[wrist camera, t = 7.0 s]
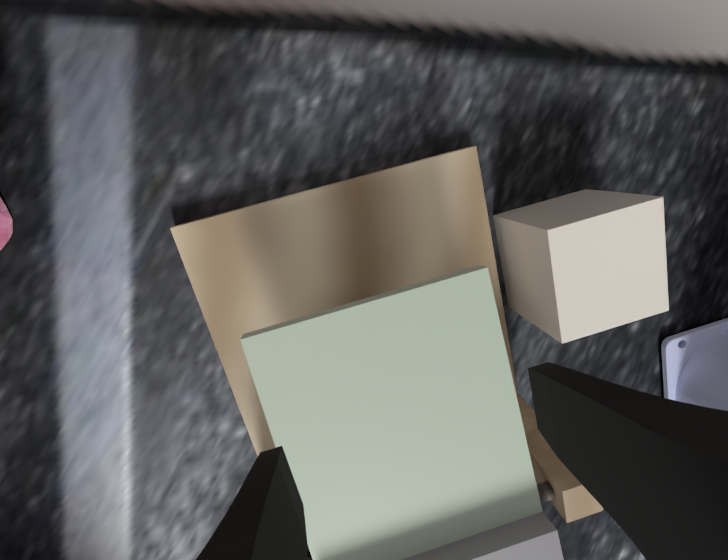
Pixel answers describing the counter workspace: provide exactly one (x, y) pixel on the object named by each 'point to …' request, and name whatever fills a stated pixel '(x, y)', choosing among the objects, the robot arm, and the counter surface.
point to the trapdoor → (404, 426)
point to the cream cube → (584, 261)
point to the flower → (5, 224)
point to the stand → (351, 272)
